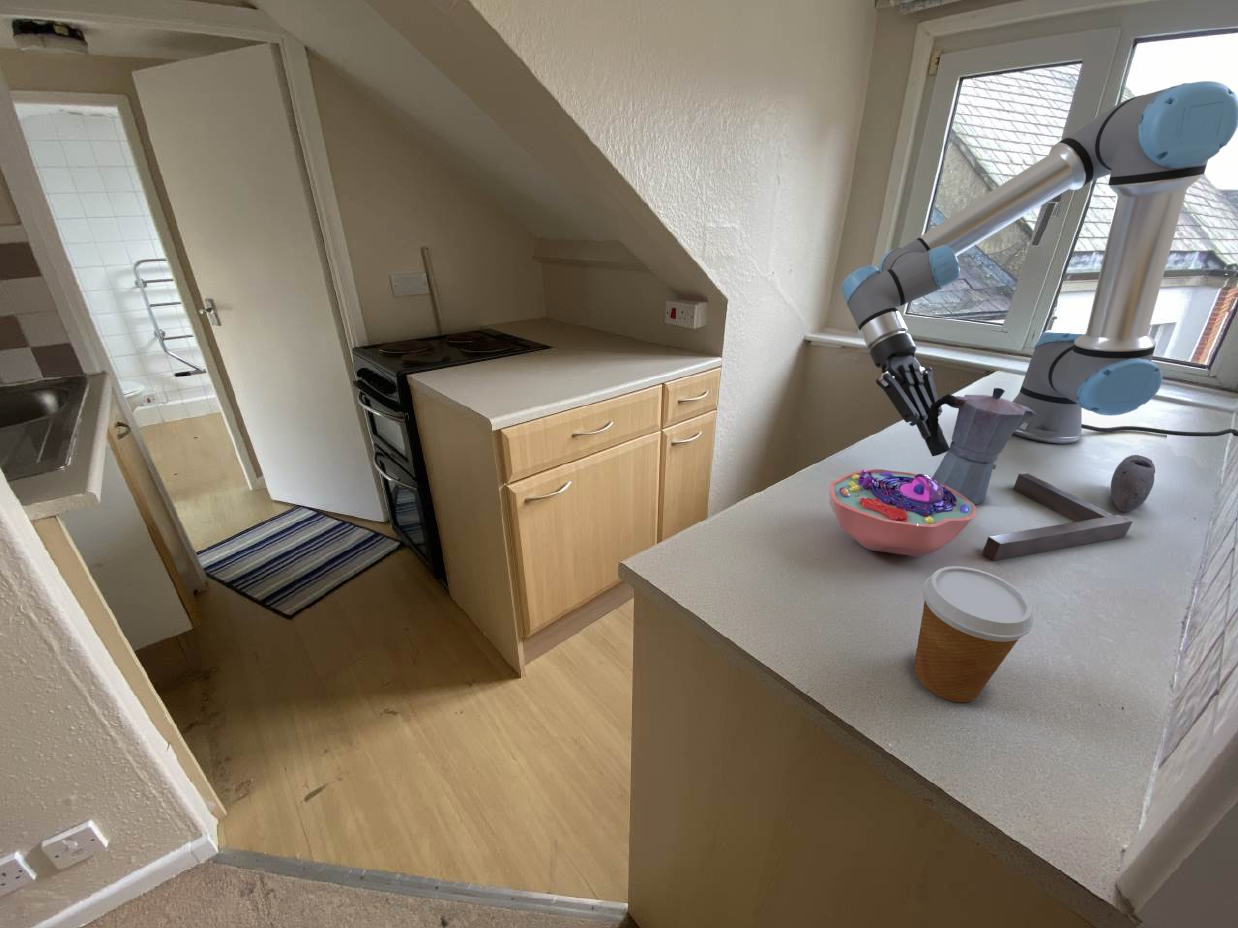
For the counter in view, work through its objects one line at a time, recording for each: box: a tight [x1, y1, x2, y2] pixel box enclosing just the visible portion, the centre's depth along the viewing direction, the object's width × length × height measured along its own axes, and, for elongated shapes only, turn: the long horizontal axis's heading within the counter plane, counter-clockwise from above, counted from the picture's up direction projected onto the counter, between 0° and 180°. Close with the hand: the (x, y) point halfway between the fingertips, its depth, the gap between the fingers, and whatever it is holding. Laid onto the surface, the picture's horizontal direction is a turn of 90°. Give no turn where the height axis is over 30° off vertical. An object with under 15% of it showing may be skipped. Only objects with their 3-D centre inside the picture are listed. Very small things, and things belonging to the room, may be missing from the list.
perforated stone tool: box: [1110, 454, 1156, 513], centre depth 92 cm, size 15×5×7 cm, turn 135°
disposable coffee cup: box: [913, 565, 1034, 703], centre depth 55 cm, size 10×10×12 cm
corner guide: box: [981, 472, 1133, 562], centre depth 87 cm, size 26×17×3 cm, turn 105°
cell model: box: [828, 468, 978, 557], centre depth 79 cm, size 17×20×11 cm
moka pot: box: [930, 387, 1036, 505], centre depth 91 cm, size 10×15×20 cm, turn 78°
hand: (941, 453), depth 96 cm, fingers closed
